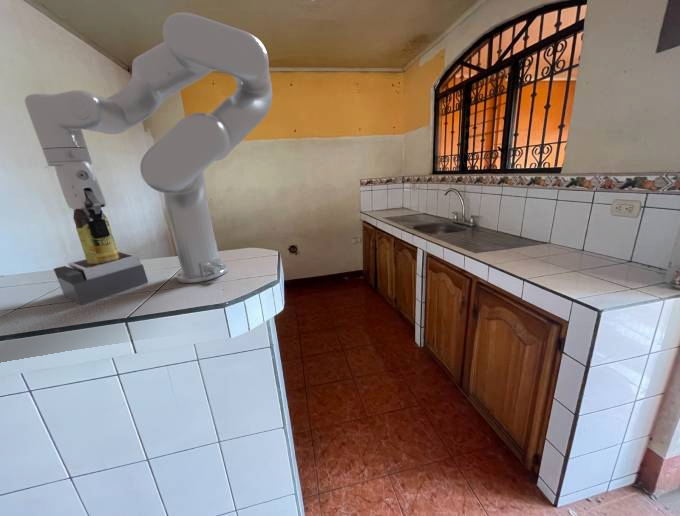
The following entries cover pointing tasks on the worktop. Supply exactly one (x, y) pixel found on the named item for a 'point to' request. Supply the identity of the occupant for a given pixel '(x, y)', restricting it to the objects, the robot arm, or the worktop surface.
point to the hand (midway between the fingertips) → (95, 235)
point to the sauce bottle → (95, 241)
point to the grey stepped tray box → (100, 278)
